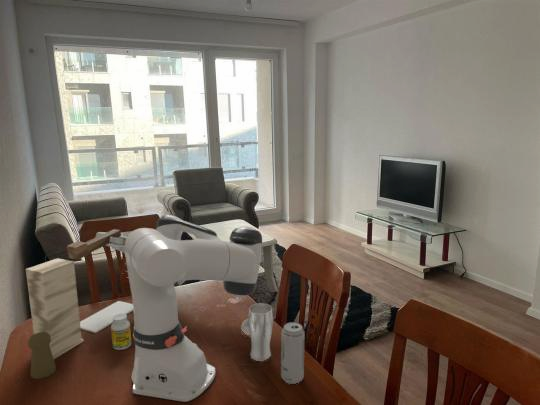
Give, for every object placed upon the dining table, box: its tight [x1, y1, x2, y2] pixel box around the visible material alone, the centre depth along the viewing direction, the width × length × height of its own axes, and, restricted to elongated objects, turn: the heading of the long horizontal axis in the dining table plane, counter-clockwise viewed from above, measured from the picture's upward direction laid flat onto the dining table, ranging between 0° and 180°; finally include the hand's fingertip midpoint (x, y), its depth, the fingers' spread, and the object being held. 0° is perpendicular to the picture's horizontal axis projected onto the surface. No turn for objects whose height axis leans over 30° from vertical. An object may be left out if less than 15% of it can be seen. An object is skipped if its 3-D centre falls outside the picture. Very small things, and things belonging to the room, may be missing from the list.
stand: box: [25, 257, 84, 360], centre depth 114 cm, size 9×10×26 cm
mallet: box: [66, 228, 121, 260], centre depth 127 cm, size 4×18×4 cm, turn 155°
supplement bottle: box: [110, 314, 132, 351], centre depth 116 cm, size 5×5×10 cm
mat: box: [80, 300, 134, 334], centre depth 135 cm, size 10×20×1 cm, turn 157°
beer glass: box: [248, 302, 274, 362], centre depth 111 cm, size 7×7×15 cm
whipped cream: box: [240, 317, 250, 335], centre depth 125 cm, size 8×7×5 cm
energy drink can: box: [280, 321, 306, 385], centre depth 101 cm, size 6×6×15 cm
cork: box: [27, 332, 57, 380], centre depth 104 cm, size 6×6×11 cm
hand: (104, 238), depth 130 cm, fingers closed on mallet, 3 cm apart
